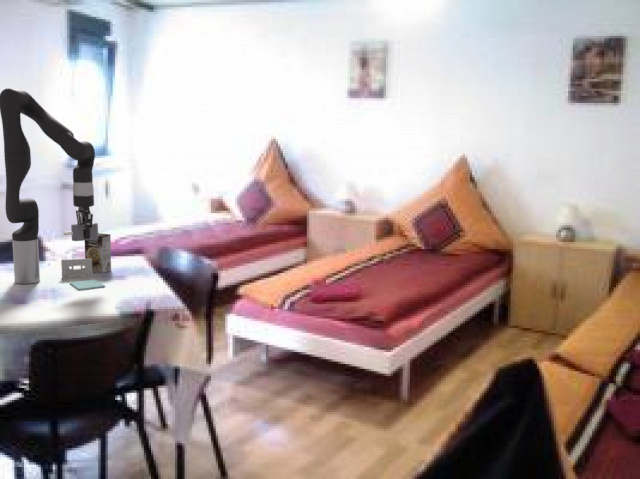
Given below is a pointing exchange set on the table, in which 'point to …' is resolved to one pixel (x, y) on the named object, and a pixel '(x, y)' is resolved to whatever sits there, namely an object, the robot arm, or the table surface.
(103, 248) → the coffee box
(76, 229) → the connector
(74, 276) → the cassette
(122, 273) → the table surface
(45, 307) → the table surface
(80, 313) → the table surface
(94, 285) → the teal rubber mat
